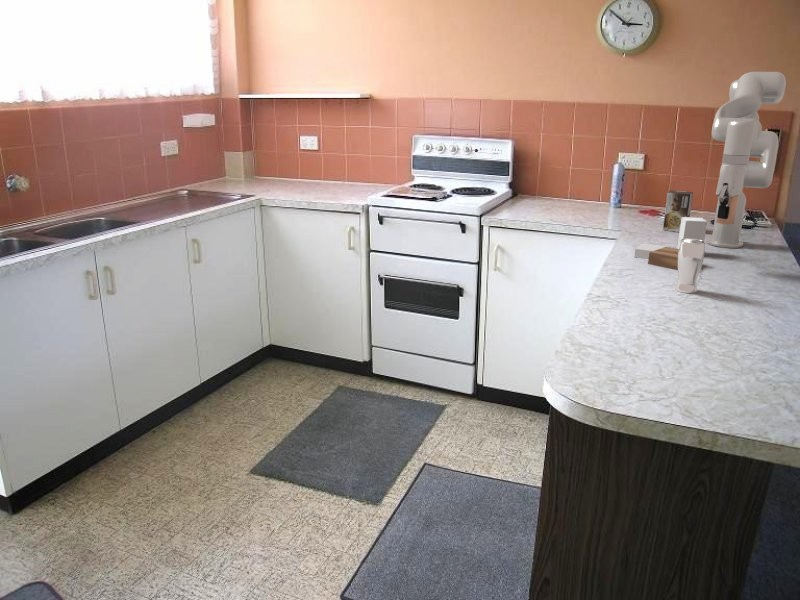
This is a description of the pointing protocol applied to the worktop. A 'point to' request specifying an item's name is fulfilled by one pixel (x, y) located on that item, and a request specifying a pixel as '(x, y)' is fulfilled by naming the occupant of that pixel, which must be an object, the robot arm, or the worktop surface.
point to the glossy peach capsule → (730, 211)
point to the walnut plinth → (664, 258)
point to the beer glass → (689, 264)
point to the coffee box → (677, 209)
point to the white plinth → (646, 250)
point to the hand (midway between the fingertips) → (726, 216)
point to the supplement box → (692, 229)
